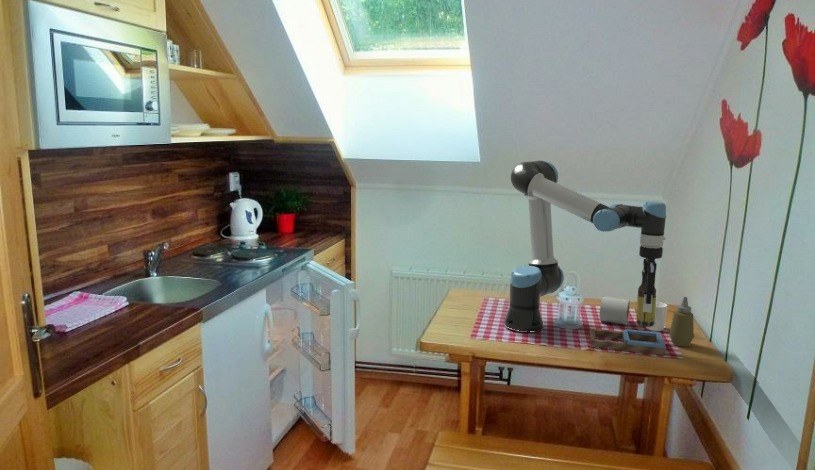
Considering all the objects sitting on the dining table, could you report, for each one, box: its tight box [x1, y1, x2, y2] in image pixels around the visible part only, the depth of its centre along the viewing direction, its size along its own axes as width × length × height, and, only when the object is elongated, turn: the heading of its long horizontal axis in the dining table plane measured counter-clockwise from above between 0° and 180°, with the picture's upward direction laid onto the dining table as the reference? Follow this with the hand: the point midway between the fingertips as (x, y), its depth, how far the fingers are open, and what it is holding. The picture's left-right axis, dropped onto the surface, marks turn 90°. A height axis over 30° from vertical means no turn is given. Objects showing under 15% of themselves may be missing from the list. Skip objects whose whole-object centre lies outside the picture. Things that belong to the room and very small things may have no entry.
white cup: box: [645, 300, 668, 332], centre depth 231 cm, size 8×8×10 cm
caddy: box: [589, 328, 666, 356], centre depth 214 cm, size 25×13×4 cm, turn 75°
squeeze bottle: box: [669, 296, 695, 348], centre depth 213 cm, size 8×8×18 cm
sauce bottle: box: [635, 269, 657, 328], centre depth 209 cm, size 6×6×20 cm
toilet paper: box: [599, 296, 631, 326], centre depth 237 cm, size 10×10×10 cm
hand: (645, 308), depth 210 cm, fingers closed on sauce bottle, 6 cm apart
